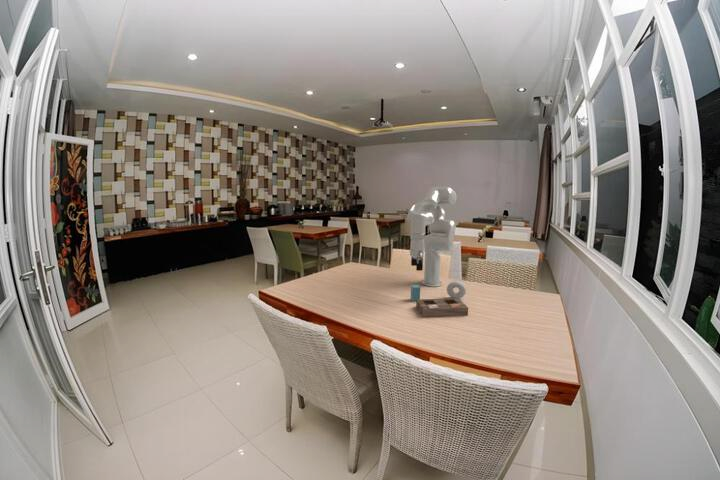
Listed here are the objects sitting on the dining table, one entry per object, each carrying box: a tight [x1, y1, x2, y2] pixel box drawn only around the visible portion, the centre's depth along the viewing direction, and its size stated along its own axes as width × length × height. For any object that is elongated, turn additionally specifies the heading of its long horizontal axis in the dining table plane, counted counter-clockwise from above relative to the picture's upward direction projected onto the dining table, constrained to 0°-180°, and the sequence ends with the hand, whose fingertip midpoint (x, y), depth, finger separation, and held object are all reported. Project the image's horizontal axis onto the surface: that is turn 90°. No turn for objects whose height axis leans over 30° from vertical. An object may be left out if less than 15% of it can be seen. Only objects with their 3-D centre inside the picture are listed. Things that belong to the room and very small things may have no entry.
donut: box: [446, 280, 467, 300], centre depth 157 cm, size 10×4×10 cm, turn 69°
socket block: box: [415, 297, 469, 318], centre depth 142 cm, size 12×22×4 cm, turn 95°
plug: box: [410, 284, 421, 303], centre depth 156 cm, size 4×4×8 cm
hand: (416, 267), depth 153 cm, fingers open, 9 cm apart
